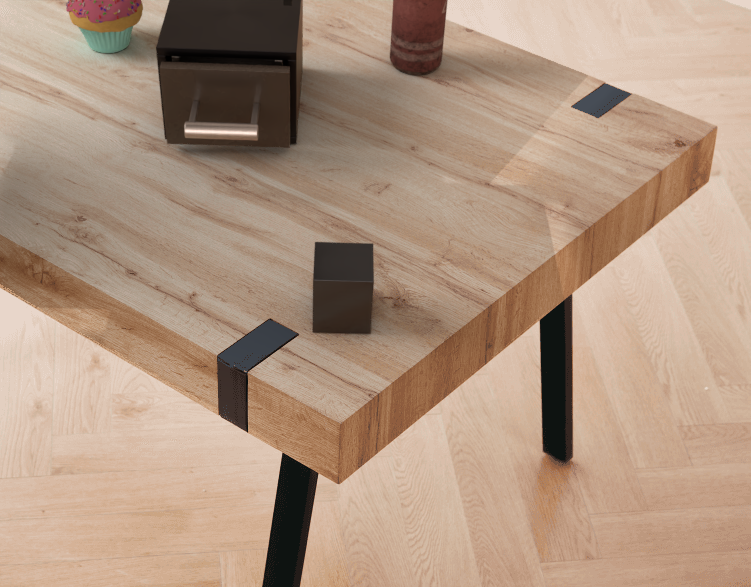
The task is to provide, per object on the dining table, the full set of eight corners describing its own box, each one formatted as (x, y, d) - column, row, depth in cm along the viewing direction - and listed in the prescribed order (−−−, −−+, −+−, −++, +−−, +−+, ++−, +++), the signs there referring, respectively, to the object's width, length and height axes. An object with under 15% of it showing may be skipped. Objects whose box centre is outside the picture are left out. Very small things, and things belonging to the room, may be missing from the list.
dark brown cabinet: (296, 144, 113) (296, 52, 106) (164, 139, 113) (155, 47, 106) (302, 67, 125) (302, -20, 118) (183, 63, 125) (176, -25, 117)
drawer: (287, 180, 107) (286, 102, 101) (159, 175, 106) (151, 97, 100) (296, 75, 122) (296, 2, 116) (184, 71, 121) (178, -2, 115)
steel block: (312, 332, 92) (312, 279, 88) (314, 293, 96) (314, 241, 92) (370, 334, 92) (373, 281, 88) (370, 295, 96) (373, 243, 92)
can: (403, 44, 130) (411, -68, 121) (449, 60, 128) (461, -53, 119) (378, 65, 126) (384, -49, 117) (425, 81, 124) (435, -34, 115)
